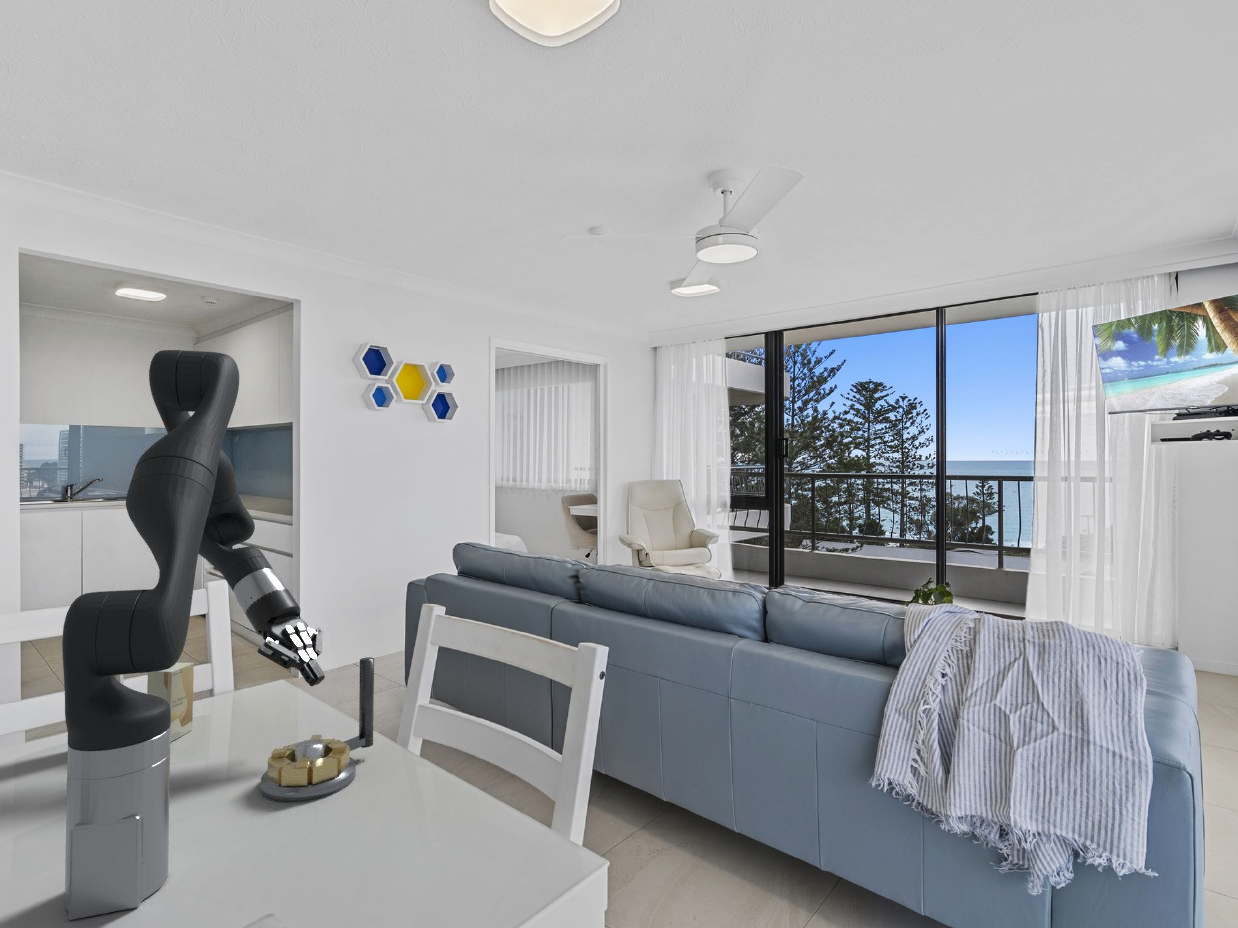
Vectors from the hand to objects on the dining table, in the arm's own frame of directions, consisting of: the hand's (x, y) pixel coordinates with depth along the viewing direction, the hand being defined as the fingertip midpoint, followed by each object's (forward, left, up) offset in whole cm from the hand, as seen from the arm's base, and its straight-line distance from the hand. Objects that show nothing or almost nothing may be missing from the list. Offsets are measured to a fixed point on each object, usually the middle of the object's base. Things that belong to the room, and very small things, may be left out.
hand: (318, 682), depth 111 cm
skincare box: (+16, +25, -12) cm, 31 cm away
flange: (-11, +1, -12) cm, 16 cm away
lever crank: (-10, -2, -10) cm, 14 cm away
